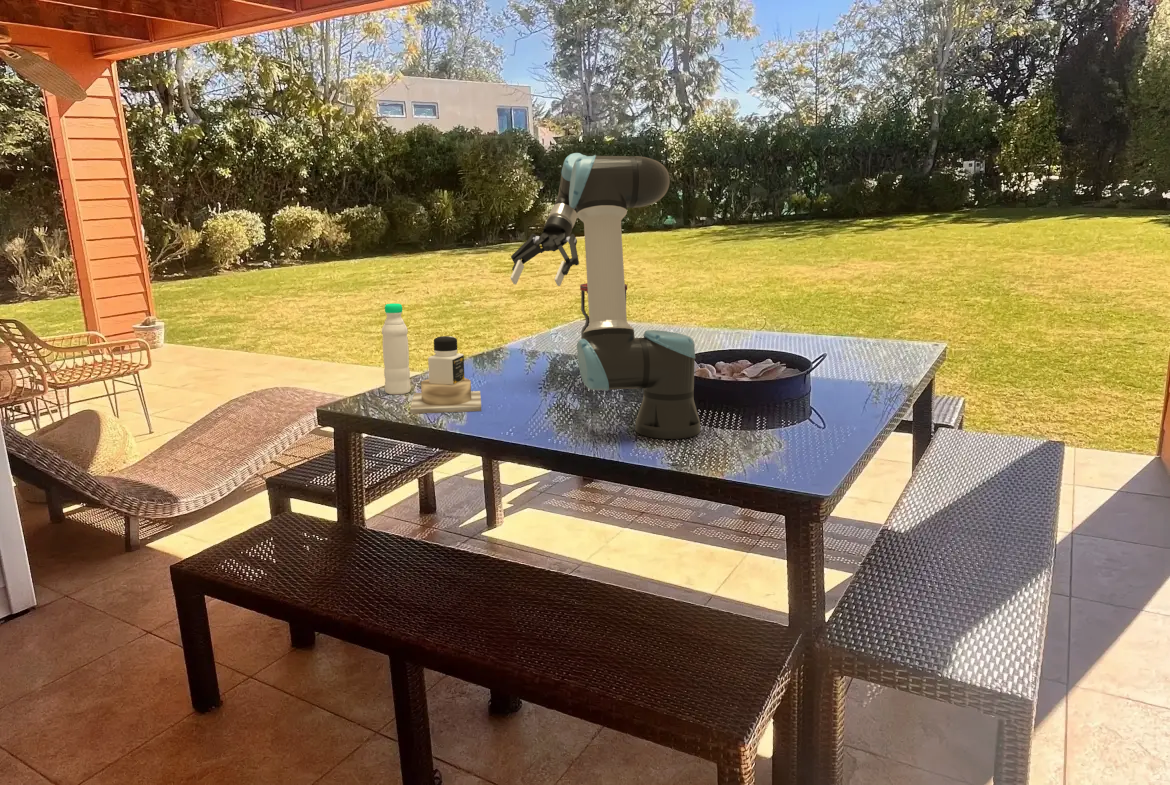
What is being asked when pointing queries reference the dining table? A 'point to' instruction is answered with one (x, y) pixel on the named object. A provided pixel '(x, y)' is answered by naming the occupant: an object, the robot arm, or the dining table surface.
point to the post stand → (446, 398)
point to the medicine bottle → (446, 362)
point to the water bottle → (395, 351)
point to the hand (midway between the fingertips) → (534, 282)
